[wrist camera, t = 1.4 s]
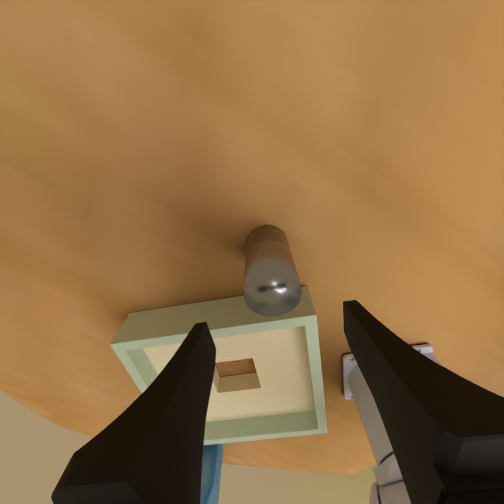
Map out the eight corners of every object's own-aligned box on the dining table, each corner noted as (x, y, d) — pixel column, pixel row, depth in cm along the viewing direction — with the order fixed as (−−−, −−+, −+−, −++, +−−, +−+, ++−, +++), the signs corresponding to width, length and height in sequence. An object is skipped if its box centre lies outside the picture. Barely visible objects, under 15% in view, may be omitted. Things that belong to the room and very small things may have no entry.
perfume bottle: (219, 427, 35) (205, 559, 25) (222, 449, 38) (211, 576, 28) (176, 428, 35) (143, 559, 25) (182, 450, 38) (156, 576, 28)
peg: (284, 221, 21) (298, 265, 14) (290, 258, 22) (304, 312, 16) (242, 229, 21) (237, 275, 15) (250, 265, 23) (249, 320, 16)
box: (306, 285, 24) (316, 314, 20) (319, 398, 32) (327, 433, 28) (129, 313, 25) (109, 344, 22) (185, 413, 34) (177, 447, 30)
